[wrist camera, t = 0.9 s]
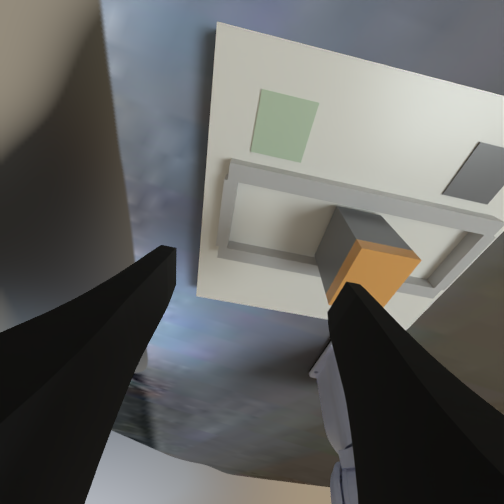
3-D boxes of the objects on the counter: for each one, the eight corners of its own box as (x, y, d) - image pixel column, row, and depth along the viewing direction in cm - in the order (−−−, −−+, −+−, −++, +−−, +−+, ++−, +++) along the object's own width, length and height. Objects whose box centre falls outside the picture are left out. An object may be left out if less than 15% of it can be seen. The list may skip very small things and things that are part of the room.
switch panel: (396, 320, 23) (408, 342, 21) (200, 284, 22) (193, 304, 20) (576, 120, 13) (635, 125, 11) (222, 28, 11) (212, 15, 9)
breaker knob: (353, 262, 17) (378, 313, 13) (314, 254, 17) (328, 304, 13) (380, 215, 15) (421, 260, 11) (336, 205, 14) (361, 248, 11)
